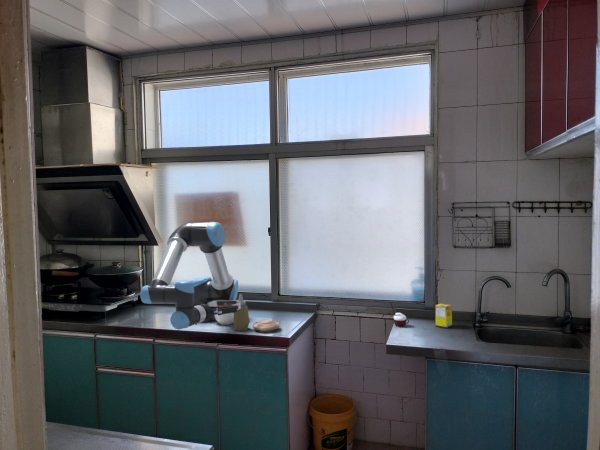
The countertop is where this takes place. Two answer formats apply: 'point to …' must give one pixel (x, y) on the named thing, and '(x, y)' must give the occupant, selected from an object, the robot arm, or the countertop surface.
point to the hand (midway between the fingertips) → (228, 304)
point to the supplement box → (443, 315)
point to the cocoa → (399, 319)
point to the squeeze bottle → (241, 316)
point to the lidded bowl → (224, 316)
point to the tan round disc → (266, 326)
